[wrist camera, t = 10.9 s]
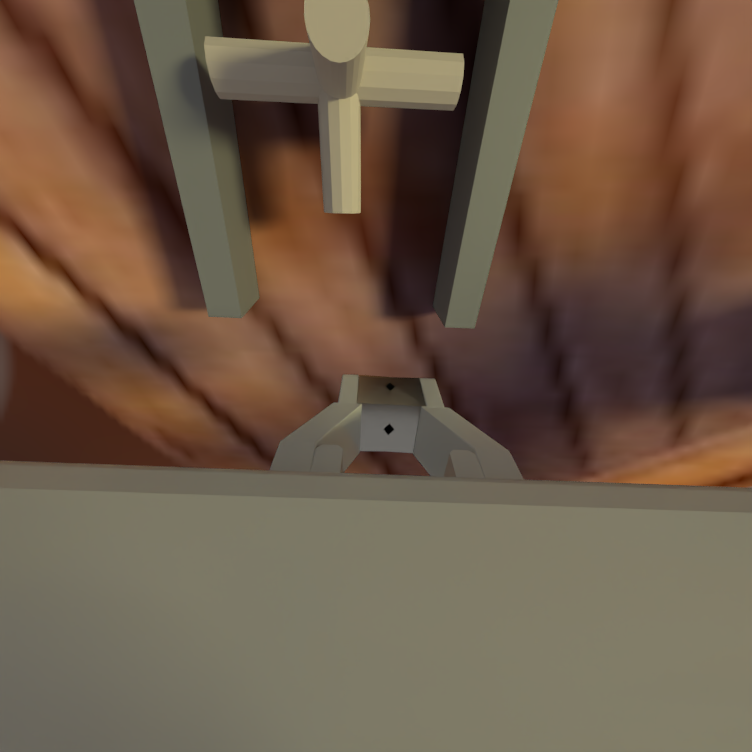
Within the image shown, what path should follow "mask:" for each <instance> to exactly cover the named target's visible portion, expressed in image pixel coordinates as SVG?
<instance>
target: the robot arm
mask: <svg viewBox="0 0 752 752" xmlns="http://www.w3.org/2000/svg"><path fill="white" fill-rule="evenodd" d="M360 451H389V452H404V453H413V455H414V456H415V457H416V458H417V460H418V461H419V462H420V463H421V465H422V466H423V467H424V468H425V469H426V471H427V472H428V473H429V474H430V476H411V475H384V474H356V473H344V471H345V470H346V469H347V468H348V466H349V465H350V464H351V463H352V461H353V460H354V459H355V458H356V456H357V455H358V454H359V453H360ZM0 752H752V488H742V487H714V486H687V485H659V484H631V483H604V482H576V481H549V480H524V479H523V477H522V475H521V473H520V471H519V469H518V467H517V465H516V463H515V461H514V459H513V457H512V455H511V454H510V452H509V450H507V449H506V448H504V447H503V446H502V445H500V444H499V443H497V442H496V441H495V440H493V439H492V438H490V437H489V436H488V435H486V434H485V433H483V432H482V431H481V430H479V429H478V428H477V427H475V426H474V425H472V424H471V423H470V422H468V421H467V420H465V419H464V418H463V417H461V416H460V415H458V414H457V413H456V412H454V411H453V410H451V409H450V408H446V407H444V404H443V401H442V398H441V395H440V392H439V389H438V386H437V383H436V380H435V379H434V378H397V377H383V376H368V375H354V374H343V376H342V382H341V388H340V394H339V400H338V403H332V404H331V405H329V406H328V407H327V408H325V409H324V410H323V411H321V412H320V413H319V414H317V415H316V416H314V417H313V418H312V419H310V420H309V421H308V422H306V423H305V424H303V425H302V426H301V427H299V428H298V429H297V430H295V431H294V432H292V433H291V434H290V435H288V436H287V437H286V438H284V439H283V440H281V441H280V443H279V446H278V449H277V451H276V454H275V457H274V459H273V462H272V465H271V467H270V470H247V469H220V468H193V467H165V466H138V465H111V464H83V463H55V462H28V461H1V460H0Z"/></svg>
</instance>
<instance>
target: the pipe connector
mask: <svg viewBox="0 0 752 752" xmlns="http://www.w3.org/2000/svg"><path fill="white" fill-rule="evenodd" d="M304 18H305V24H306V30H307V34H308V38H309V43H298V42H283V41H268V40H253V39H238V38H223V37H209V36H205V41H204V49H205V57H206V63H207V67H208V71H209V75H210V79H211V82H212V84H213V87H214V90H215V92H216V94H217V95H218V97H219V98H220V99H230V100H250V101H270V102H290V103H310V104H318V116H319V133H320V151H321V168H322V186H323V203H324V212H327V213H361V117H360V106H369V107H389V108H409V109H429V110H448V111H453V110H454V109H455V107H456V105H457V103H458V99H459V96H460V93H461V87H462V82H463V76H464V57H463V54H461V53H446V52H431V51H416V50H402V49H387V48H372V47H367V42H368V35H369V27H370V12H369V5H368V1H367V0H305V1H304Z"/></svg>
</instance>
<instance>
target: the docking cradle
mask: <svg viewBox="0 0 752 752" xmlns="http://www.w3.org/2000/svg"><path fill="white" fill-rule="evenodd" d="M134 3H135V8H136V12H137V16H138V20H139V25H140V29H141V33H142V37H143V41H144V46H145V50H146V54H147V58H148V63H149V67H150V71H151V75H152V79H153V84H154V88H155V92H156V96H157V100H158V105H159V109H160V113H161V117H162V122H163V126H164V130H165V134H166V138H167V143H168V147H169V151H170V155H171V160H172V164H173V168H174V172H175V176H176V181H177V185H178V189H179V193H180V197H181V202H182V206H183V210H184V214H185V219H186V223H187V227H188V231H189V235H190V240H191V244H192V248H193V252H194V257H195V261H196V265H197V269H198V273H199V278H200V282H201V286H202V290H203V294H204V299H205V303H206V307H207V311H208V316H209V317H230V318H242V317H243V316H244V315H245V314H246V313H247V311H248V310H249V309H250V308H251V307H252V306H253V305H254V303H255V302H256V301H257V300H258V299H259V291H258V284H257V276H256V269H255V262H254V255H253V248H252V240H251V233H250V226H249V219H248V212H247V205H246V197H245V190H244V183H243V176H242V169H241V162H240V154H239V147H238V140H237V133H236V126H235V118H234V111H233V104H232V100H230V99H220V98H219V97H218V95H217V94H216V92H215V90H214V87H213V84H212V82H211V79H210V75H209V71H208V67H207V63H206V57H205V49H204V41H205V36H209V37H223V32H222V25H221V18H220V11H219V4H218V0H134ZM557 4H558V0H485V2H484V8H483V14H482V20H481V26H480V32H479V38H478V44H477V49H476V55H475V61H474V67H473V73H472V79H471V85H470V90H469V96H468V102H467V108H466V114H465V120H464V126H463V132H462V137H461V143H460V149H459V155H458V161H457V167H456V173H455V179H454V184H453V190H452V196H451V202H450V208H449V214H448V220H447V226H446V231H445V237H444V243H443V249H442V255H441V261H440V267H439V273H438V278H437V284H436V290H435V296H434V302H433V308H434V309H435V311H436V313H437V315H438V316H439V318H440V320H441V321H442V323H443V325H444V327H452V328H475V324H476V321H477V317H478V313H479V309H480V305H481V301H482V297H483V293H484V289H485V285H486V281H487V277H488V274H489V270H490V266H491V262H492V258H493V254H494V250H495V246H496V242H497V238H498V234H499V231H500V227H501V223H502V219H503V215H504V211H505V207H506V203H507V199H508V195H509V191H510V187H511V184H512V180H513V176H514V172H515V168H516V164H517V160H518V156H519V152H520V148H521V144H522V141H523V137H524V133H525V129H526V125H527V121H528V117H529V113H530V109H531V105H532V101H533V97H534V94H535V90H536V86H537V82H538V78H539V74H540V70H541V66H542V62H543V58H544V54H545V50H546V47H547V43H548V39H549V35H550V31H551V27H552V23H553V19H554V15H555V11H556V7H557Z"/></svg>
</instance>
